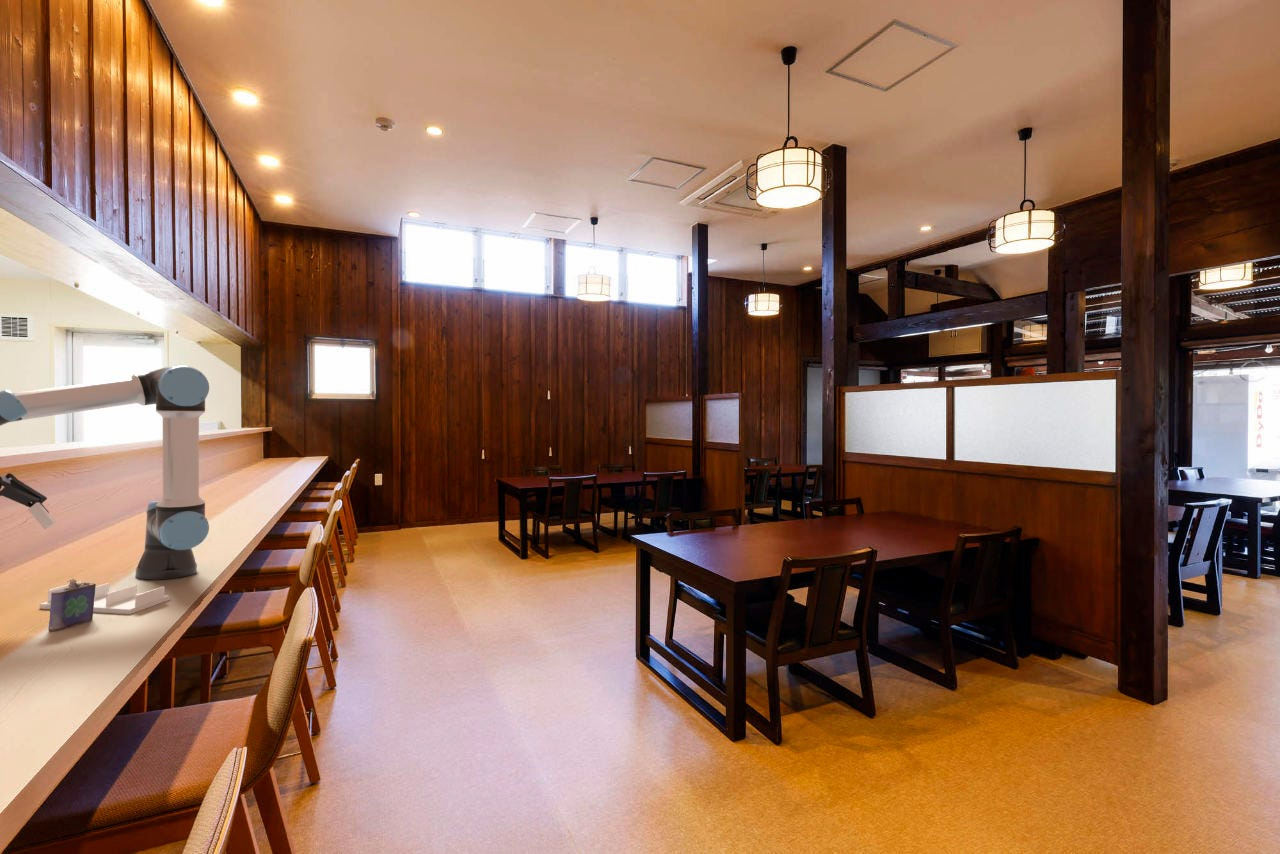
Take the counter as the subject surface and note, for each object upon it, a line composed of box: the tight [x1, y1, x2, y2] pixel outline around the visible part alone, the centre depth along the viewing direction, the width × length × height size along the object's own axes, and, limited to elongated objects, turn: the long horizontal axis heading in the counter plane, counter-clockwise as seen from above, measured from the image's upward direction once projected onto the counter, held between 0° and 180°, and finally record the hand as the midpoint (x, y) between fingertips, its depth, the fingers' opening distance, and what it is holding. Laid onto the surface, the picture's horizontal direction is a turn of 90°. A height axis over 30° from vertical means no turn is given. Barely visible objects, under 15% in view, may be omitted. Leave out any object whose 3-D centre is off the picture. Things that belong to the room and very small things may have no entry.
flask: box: [48, 578, 97, 632], centre depth 143 cm, size 9×3×11 cm, turn 172°
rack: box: [39, 580, 171, 615], centre depth 159 cm, size 13×23×4 cm, turn 90°
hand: (22, 530), depth 145 cm, fingers open, 13 cm apart
